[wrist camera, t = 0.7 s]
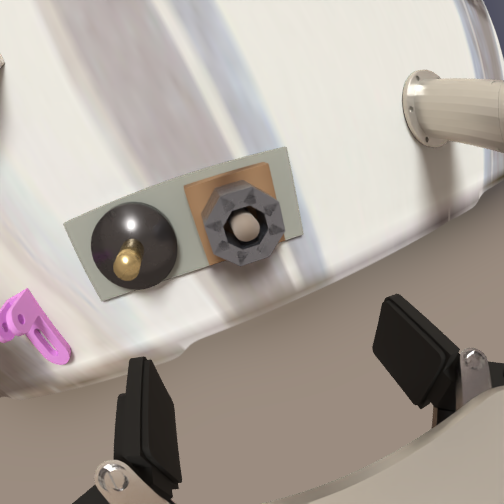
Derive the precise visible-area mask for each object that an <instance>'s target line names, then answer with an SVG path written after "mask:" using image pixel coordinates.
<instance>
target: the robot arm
mask: <svg viewBox="0 0 504 504" xmlns="http://www.w3.org/2000/svg"><path fill="white" fill-rule="evenodd" d="M403 108H404V114H405V118H406V121H407V123H408V126H409V128H410V130H411V132H412V134H413V135H414V136H415V138H416V139H417V140H418V141H419V142H420V143H422V144H424V145H425V146H428V147H434V148H437V147H441V146H443V145H444V144H445V143H446V142H447V141H448V140H449V141H454V142H459V143H464V144H469V145H473V146H478V147H482V148H486V149H490V150H494V151H498V152H501V153H504V81H503V80H490V79H463V78H451V79H441V78H440V77H439V76H438V75H437V74H435V73H434V72H432V71H429V70H418V71H415V72H413V73H412V74H411V75H410V76H409V77H408V79H407V80H406V82H405V86H404V90H403ZM459 350H460V349H459V348H458V347H457V346H456V345H455V344H454V343H453V342H452V341H451V340H449V338H447V337H446V336H445V335H444V334H443V333H442V332H441V331H440V330H439V329H438V328H437V327H436V326H434V325H433V324H432V323H431V322H430V321H429V320H428V319H427V318H426V317H425V316H423V315H422V314H421V313H420V312H419V311H418V310H417V309H416V308H414V307H413V306H412V305H411V304H410V303H409V302H408V301H407V300H405V299H404V298H403V297H402V296H401V295H399V294H395V295H392V296H389V297H387V298H385V300H384V302H383V303H382V307H381V312H380V316H379V322H378V326H377V330H376V335H375V339H374V343H373V352H374V354H375V356H376V357H377V358H378V359H379V360H380V362H381V363H382V364H383V366H384V367H385V368H386V369H387V371H388V372H389V373H390V374H391V376H392V377H393V378H394V379H395V381H396V382H397V383H398V385H399V386H400V387H401V388H402V390H403V391H404V392H405V393H406V395H407V396H408V397H409V399H410V400H411V401H412V403H413V404H415V405H418V406H419V408H420V409H422V408H424V407H425V406H427V405H428V404H430V402H431V403H432V404H433V419H432V429H431V430H429V431H428V432H426V433H425V434H423V435H422V436H420V437H419V438H417V439H415V440H414V441H412V442H411V443H409V444H407V445H406V446H404V447H402V448H401V449H399V450H397V451H395V452H394V453H392V454H390V455H388V456H386V457H384V458H382V459H381V460H379V461H377V462H375V463H373V464H371V465H369V466H367V467H365V468H363V469H360V470H358V471H356V472H354V473H351V474H349V475H347V476H345V477H342V478H340V479H337V480H335V481H332V482H330V483H327V484H324V485H322V486H319V487H316V488H313V489H311V490H308V491H305V492H302V493H298V494H295V495H292V496H288V497H285V498H281V499H278V500H274V501H270V502H266V503H262V504H504V363H495V362H488V361H487V358H486V356H485V355H484V353H483V352H481V351H480V350H478V349H476V348H467V349H464V350H463V351H462V352H461V354H459V353H458V352H459ZM174 411H175V410H174V404H173V401H172V399H171V397H170V396H169V394H168V392H167V390H166V388H165V386H164V384H163V382H162V380H161V378H160V376H159V374H158V372H157V370H156V368H155V366H154V364H153V362H152V360H147V359H146V357H138V358H131V359H130V360H129V367H128V377H127V386H126V393H123V394H120V395H119V396H118V401H117V412H116V423H115V439H114V460H108V461H105V462H103V463H102V464H100V465H99V466H98V467H97V469H96V471H95V474H94V481H95V485H94V486H93V487H92V488H90V489H89V490H88V491H87V492H86V493H85V494H83V495H82V496H81V497H80V498H79V499H77V500H76V501H75V502H74V503H72V504H177V503H176V502H175V501H173V500H172V499H171V498H172V497H173V495H172V489H178V483H181V482H182V476H181V469H180V461H179V452H178V443H177V433H176V423H175V412H174Z"/></svg>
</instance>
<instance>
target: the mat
mask: <svg viewBox="0 0 504 504" xmlns="http://www.w3.org/2000/svg"><path fill="white" fill-rule="evenodd" d="M261 162H265V163H268V164H269V167H270V172H271V176H272V180H273V185H274V189H275V194H276V198H277V201H279V203H280V207H281V212H282V217H283V222H284V226H285V232H284V236H285V240H288V239H291V238H294V237H297V236H300V235H303V229H302V223H301V217H300V212H299V206H298V201H297V196H296V191H295V186H294V181H293V176H292V171H291V166H290V161H289V157H288V152H287V147H281V148H277V149H273V150H269V151H265V152H261V153H257V154H253V155H249V156H246V157H242V158H238V159H235V160H231V161H228V162H224V163H221V164H217V165H214V166H211V167H208V168H204V169H201V170H198V171H195V172H192V173H189V174H186V175H183V176H180V177H177V178H174V179H171V180H168V181H165V182H162V183H159V184H157V185H154V186H151V187H148V188H146V189H143V190H140V191H138V192H135V193H132V194H130V195H127V196H125V197H122V198H120V199H117V200H115V201H112V202H110V203H108V204H105V205H103V206H100V207H98V208H96V209H93V210H91V211H89V212H87V213H84V214H82V215H80V216H78V217H76V218H73V219H71V220H69V221H67V222H65V223H64V224H63V225H64V227H65V229H66V232H67V234H68V236H69V238H70V241H71V243H72V245H73V247H74V249H75V251H76V254H77V256H78V258H79V260H80V262H81V264H82V266H83V268H84V270H85V272H86V274H87V275H88V277H89V279H90V281H91V283H92V285H93V287H94V289H95V290H96V292H97V294H98V296H99V297H100V299H101V301H105V300H108V299H111V298H114V297H117V296H120V295H123V294H126V293H129V292H132V291H135V290H134V289H127V288H123V287H120V286H118V285H116V284H114V283H112V282H111V281H109V280H108V279H107V278H105V277H104V276H103V274H102V273H101V272H100V271H99V269H98V268H97V266H96V264H95V262H94V260H93V257H92V252H91V237H92V233H93V231H94V228H95V226H96V224H97V223H98V221H99V220H100V219H101V218H102V217H103V215H104V214H105V213H106V212H107V211H109V210H110V209H111V208H113V207H115V206H117V205H119V204H122V203H126V202H142V203H146V204H149V205H151V206H153V207H155V208H157V209H158V210H160V211H161V212H162V213H163V214H164V215H165V216H166V217H167V218H168V219H169V220H170V222H171V224H172V225H173V227H174V230H175V233H176V236H177V258H176V262H175V265H174V267H173V269H172V271H171V272H170V274H169V275H168V276H167V277H166V278H165V279H164V280H163V281H165V280H168V279H171V278H174V277H177V276H180V275H183V274H186V273H189V272H192V271H195V270H198V269H201V268H204V267H207V266H210V265H209V262H208V260H207V257H206V254H205V251H204V248H203V245H202V242H201V239H200V237H199V234H198V231H197V228H196V225H195V222H194V219H193V216H192V213H191V210H190V207H189V204H188V201H187V198H186V194H185V191H184V185H187V184H190V183H193V182H196V181H199V180H202V179H205V178H209V177H212V176H215V175H218V174H222V173H225V172H228V171H232V170H235V169H239V168H242V167H246V166H249V165H253V164H257V163H261ZM161 282H162V281H161Z"/></svg>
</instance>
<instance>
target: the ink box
mask: <svg viewBox="0 0 504 504" xmlns="http://www.w3.org/2000/svg"><path fill="white" fill-rule="evenodd" d="M3 64H4V60H3V58H2V56H1V54H0V68H1V67H2V65H3Z"/></svg>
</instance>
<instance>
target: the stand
mask: <svg viewBox="0 0 504 504" xmlns="http://www.w3.org/2000/svg"><path fill="white" fill-rule="evenodd" d="M240 180H245V181H246V182H248V183H250V184H252V185H254V186H255V187H257V188H259V189H261V190H262V191H264V192H266V193H268V194H269V195H270V196H272V197H273V198H275V199H276V200H277V198H276V194H275V189H274V185H273V180H272V176H271V172H270V167H269V164H268V163H265V162H261V163H257V164H253V165H249V166H246V167H242V168H239V169H235V170H232V171H228V172H225V173H222V174H218V175H215V176H212V177H209V178H205V179H202V180H199V181H196V182H193V183H190V184H187V185H184V191H185V194H186V198H187V201H188V204H189V207H190V210H191V213H192V216H193V219H194V222H195V225H196V228H197V231H198V234H199V237H200V239H201V242H202V245H203V248H204V251H205V254H206V257H207V260H208V262H209V265H213V264H216V263H219V262H222V261H225V259H223V258H221V257H218V256H216V255H214V254H213V251H212V248H211V245H210V242H209V239H208V236H207V233H206V230H205V227H204V224H203V220H202V216H201V212H202V211H203V209H204V207H205V205H206V203H207V201H208V200H209V198H210V196H211V194H212V192H213V191H214V189H215V188H217V187H220V186H223V185H226V184H230V183H233V182H236V181H240ZM256 219H257V213H256V209H255V208H254V207H252V206H250V205H249V206H246V207H243V208H240V209H236V210H233V211H232V212H231V214H230V215H229V217H228V219H227V221H226V222H225V224H224V226H223V228H224V230H225V231H227V232H230V233H232V234H234V235H235V236H236V237H237V238H238V239H239V240H241V241H251V240H253V239H254V238H256V236H257V235H258V233H259V230H260V226H259V223H258V221H257V220H256ZM282 241H285V236H284V234H283V236H282V237H281V239H280V240H279V242H282ZM279 242H278V243H279Z"/></svg>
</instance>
